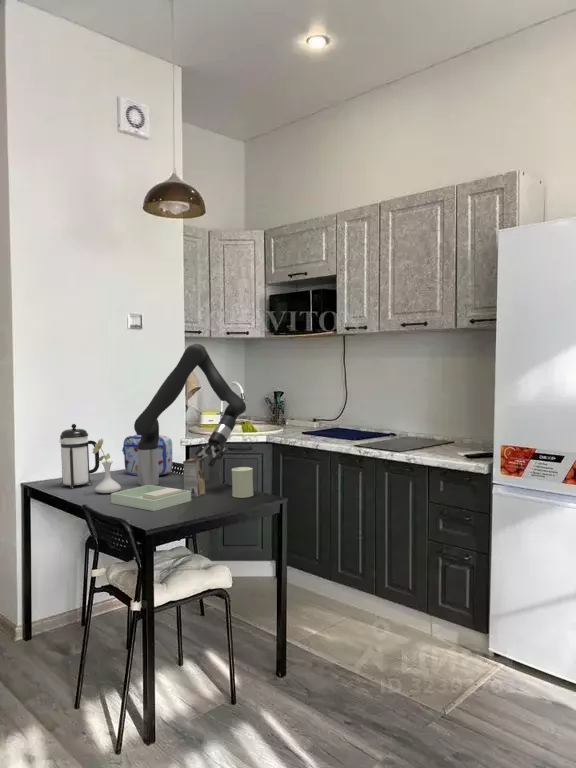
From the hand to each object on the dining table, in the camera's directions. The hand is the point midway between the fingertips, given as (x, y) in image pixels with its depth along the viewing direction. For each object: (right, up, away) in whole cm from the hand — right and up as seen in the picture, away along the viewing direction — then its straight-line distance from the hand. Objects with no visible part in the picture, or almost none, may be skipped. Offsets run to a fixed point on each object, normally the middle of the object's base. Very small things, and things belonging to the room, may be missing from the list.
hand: (202, 465), depth 274 cm
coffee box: (-3, -13, -4) cm, 14 cm away
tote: (-19, -14, -17) cm, 29 cm away
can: (+18, -13, -4) cm, 22 cm away
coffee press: (-64, -13, +27) cm, 70 cm away
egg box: (-13, -13, -21) cm, 28 cm away
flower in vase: (-45, -14, +9) cm, 48 cm away
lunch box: (-36, -12, +51) cm, 63 cm away
